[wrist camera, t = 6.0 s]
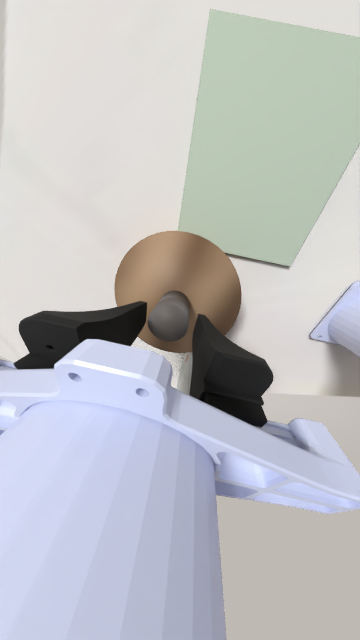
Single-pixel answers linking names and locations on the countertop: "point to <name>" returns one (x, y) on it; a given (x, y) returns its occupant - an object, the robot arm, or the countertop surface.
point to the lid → (178, 287)
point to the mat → (269, 133)
